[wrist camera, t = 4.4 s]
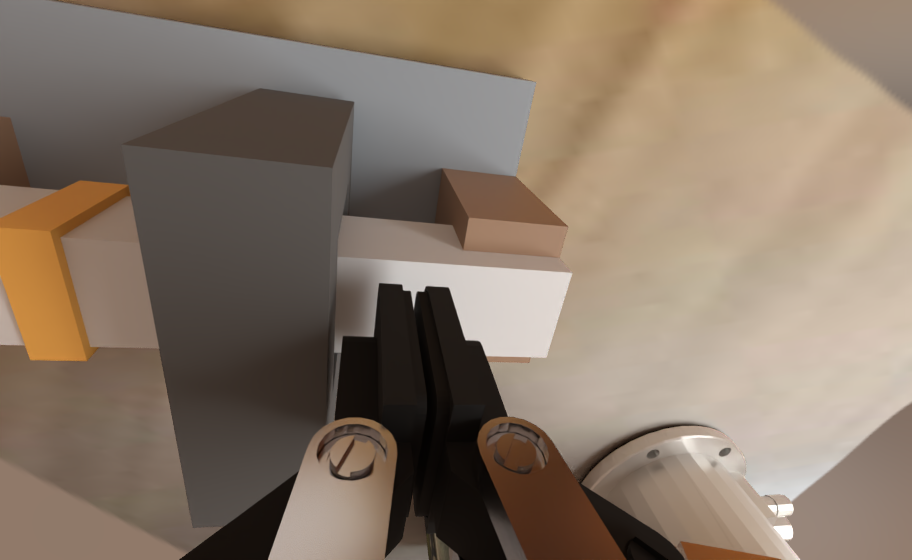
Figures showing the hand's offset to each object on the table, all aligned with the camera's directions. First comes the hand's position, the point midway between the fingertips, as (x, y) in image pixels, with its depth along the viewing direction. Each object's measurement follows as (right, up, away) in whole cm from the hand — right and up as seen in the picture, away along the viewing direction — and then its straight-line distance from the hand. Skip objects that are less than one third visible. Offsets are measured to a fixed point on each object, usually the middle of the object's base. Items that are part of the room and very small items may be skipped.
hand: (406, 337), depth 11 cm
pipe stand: (-7, +5, +7) cm, 11 cm away
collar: (-4, +4, +6) cm, 8 cm away
